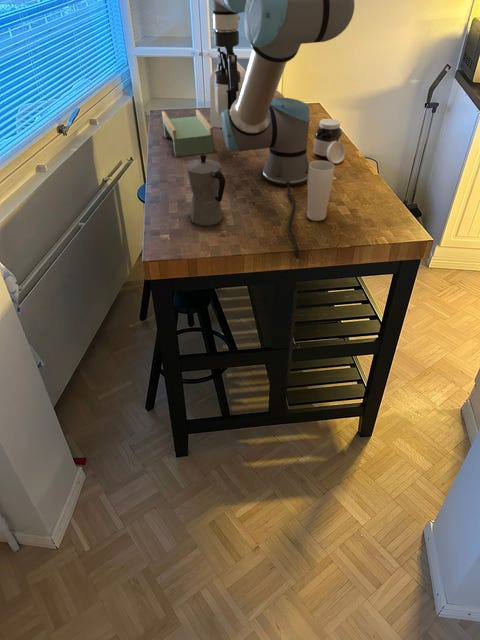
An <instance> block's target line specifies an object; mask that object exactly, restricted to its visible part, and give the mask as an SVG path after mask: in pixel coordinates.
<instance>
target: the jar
mask: <svg viewBox="0 0 480 640" xmlns="http://www.w3.org/2000/svg"><path fill="white" fill-rule="evenodd" d="M237 72H238V87H239V91H237V92H236V97H237V99H238V98H239V97H240V93H241V82H240V72H239V71H237ZM214 87H215V111H216V112H217V114H218V115H221V113H222V111H224V110H226V109H228V93H227V92H226V91H227V90H228V83H227V75H226V70H222V71H221V70H219V71H216V72H215V81H214Z"/></svg>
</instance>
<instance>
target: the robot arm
mask: <svg viewBox="0 0 480 640" xmlns="http://www.w3.org/2000/svg"><path fill="white" fill-rule="evenodd" d="M242 13H244V16H243V23H244V24H243V28H244V34H245V37H246V41H247V42H248V44H249V45H250V47H251V52H250V56H249V60H248V64H247V67H246V70H245V72H246V74H245V78H244V82H243V86H242V89H241V93H240V97H239V98H238V99H237V97H236V92H237V91H239V87H238V72H237V62H238V55H237V54H235V52H234V47H237V46H238V45H239V44H240V32H239V30H238V29H239V27H240V26H239V21H240V20H241V16H239V14H242ZM354 13H355V0H212V26H213V27H212V28H213V29H214V32H213V44H214V46H216V47H217V48H216V52H217V65H218V68H217V67H216V68H217V71H219V70H221V71H222V70H226V75H227V83H228V90H227V91H226V92H227V93H228V109H226V110H224V111H222V113H221V122H222V128H221V129H222V136H223V140H224V144H225V146H226V149H227V150H228V151H229V152H233V153H234V152H236V153H237V152H239V153H240V152H247V151H255V150H262V149H269V152H268V156H267V158H266V161H265V163H264V167H263V170H262V178H263V179H264V181H265V182H267V183H268V184H271V185H274V186H279V187H286V192H287V197H288V198H289V200H290V202H291V203H292V204H291V206H292V207H291V210H290V214H289V219H288V223H287V224H288V225H287V230H288V235H289V238H290V241H291V243H292V247H293V248H294V251H295V258H296V259H298V260H299V259H300V250H299V246H298V244H297V243H296V239H295V236H294V234H293V230H292V224H293V218H294V214H295V211H296V207H297V206H296V201H295V199H294V197H293V195H292V193H291V187H297V186H301V185H304V184H307V179H308V168H309V164H310V163H309V159H308V154H307V153H308V151H307V150H308V140H309V131H310V130H309V129H310V121H311V119H310V107H309V105H308V104H307V103H306V102H304V101H302V100H299V99H296V98H290V97H284V98H275V99H273V97H274V95H275V92H276V91H277V89H278V87H279V84H280V81H281V78H282V76H283V73H284V71H285V68H286V65H287V63H288V62H290V61H292V60H293V59H294V58H295V57H296V56H297V54H298V52H299V50H300V48H301V45H303V44H315V43H324V42H328V41H330V40H334V39H335V38H337V37H338V36H340V35H341V34H342V33H343V32H344V31H346V29H347V28H348V26H349V25H350V23H351V21H352V20H353V16H354ZM292 297H293V298H292V299H293V300H292V310H291V311H292V313H291V325H290V338H289V347H288V348H289V350H288V361H287V371H286V376H287V377H289V378H290V377H291V369H292V360H293V359H292V358H293V357H292V356H293V348H294V347H293V346H294V335H295V327H296V326H295V324H296V312H297V301H298V288H296V289H293V295H292Z"/></svg>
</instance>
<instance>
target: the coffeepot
mask: <svg viewBox="0 0 480 640" xmlns="http://www.w3.org/2000/svg"><path fill="white" fill-rule="evenodd" d="M199 157H200V159H196V158H195V159H190V160H187V162H188V164H186V165H185V169H186V173H187V178H188V182H189V186H190V190H191V192H192V197H191V205H190V215H189V216H190V219H191V221H192V223H193V224H195V225H197V226H201V227H210V226H215V225H217V224H219V223H220V222H221V221H222V220H223V219H224V216H223V211H222V206H221V202H222V200H223V196H224V191H225V187H226V178H225V175H224V174H223V172H222V165H221V164H220V162H219V161H216V160H211V159H207V155H206V154H199Z"/></svg>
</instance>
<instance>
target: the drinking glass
mask: <svg viewBox="0 0 480 640" xmlns="http://www.w3.org/2000/svg"><path fill="white" fill-rule="evenodd" d="M334 176H335V163H331V162H330V161H329V160H313V161H311V162H310V163H309V168H308V179H307V182H306V184H307V185H306V187H307V188H306V189H307V191H306V193H307V197H306V199H307V201H306V203H307V205H306V206H307V207H306V217H307V218H308V219H309V220H310V221H314V222H321V221H324V220H325V219H326V218H327V211H328V206H329V202H330V199H331V198H330V197H331V193H332V188H333V184H334V183H333V182H334V179H335V178H334Z"/></svg>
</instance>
